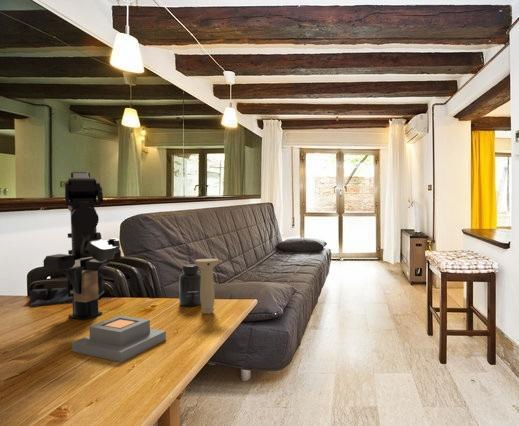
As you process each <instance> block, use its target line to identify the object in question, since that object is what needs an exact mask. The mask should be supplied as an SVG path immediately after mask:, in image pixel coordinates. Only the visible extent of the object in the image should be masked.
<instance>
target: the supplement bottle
mask: <svg viewBox="0 0 519 426" xmlns="http://www.w3.org/2000/svg"><path fill="white" fill-rule="evenodd" d="M199 271H200V270H199V267H198V266H196V265H195V263H188V264H183V265H182V270H181V272H183V273H181V274H180V275H179V279H178V282H179V283H178V284H179V286H178V287H179V288H178V290H179V295H178V296H179V297H178V298H179V305H180V306H182V307H189V308H190V307H197V306H200V305H201V299H200V298H201V297H200V286H201V273H199Z"/></svg>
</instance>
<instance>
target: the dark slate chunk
mask: <svg viewBox="0 0 519 426" xmlns="http://www.w3.org/2000/svg"><path fill="white" fill-rule="evenodd" d="M70 291H73V290H70ZM104 293H105V290H104V289H103V292H102V293H101V294H98V298H100V297H101V296H102V295H103V294H104ZM46 300H47V301H46ZM64 302H69V303H73V301H72V297H68V286H67V287H66V286H65V287H56V288H50V289H47V288H37V289H36V288H35V289H32V290H30V292H29V306H30V307H32V306H33V307H37V306H36V305H40V306H48V305H47V304H53V305H59V304H58V303H62V304H65V303H64ZM30 303H31V305H30Z"/></svg>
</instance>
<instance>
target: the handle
mask: <svg viewBox="0 0 519 426" xmlns="http://www.w3.org/2000/svg"><path fill="white" fill-rule="evenodd" d="M194 264H195V265H196V266H198V268H200V275H201V286H200V297H201V298H200V299H201V304H200V305H201V313H202V314H204V315H210V314H214V312H215V311H214V310H215V308H214V305H215V296H216V295H215V283H214V282H215V281H214V268H215V267H216V266H217V265H219V259H217V258H200V259H198V258H197V259H195V260H194Z"/></svg>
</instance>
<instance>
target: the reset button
mask: <svg viewBox="0 0 519 426" xmlns="http://www.w3.org/2000/svg"><path fill="white" fill-rule="evenodd" d="M134 323H135V322H133V321H127V320H117V321H115V322H112V323H109V324H107V325H105V326H106V327H112V328H117V329H122V328H124V327H126V326H129V325H131V324H134Z"/></svg>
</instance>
